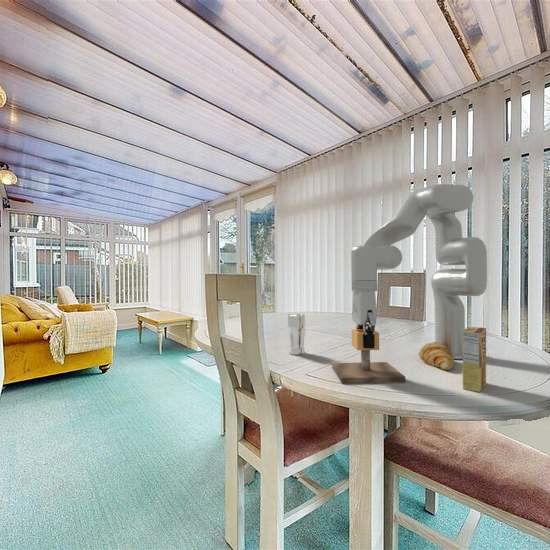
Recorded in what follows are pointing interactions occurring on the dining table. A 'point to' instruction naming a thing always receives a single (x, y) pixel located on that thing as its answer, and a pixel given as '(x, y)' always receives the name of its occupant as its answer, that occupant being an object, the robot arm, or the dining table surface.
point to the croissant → (437, 355)
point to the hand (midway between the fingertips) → (365, 344)
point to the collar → (358, 340)
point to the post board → (367, 371)
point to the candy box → (474, 358)
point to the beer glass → (296, 333)
